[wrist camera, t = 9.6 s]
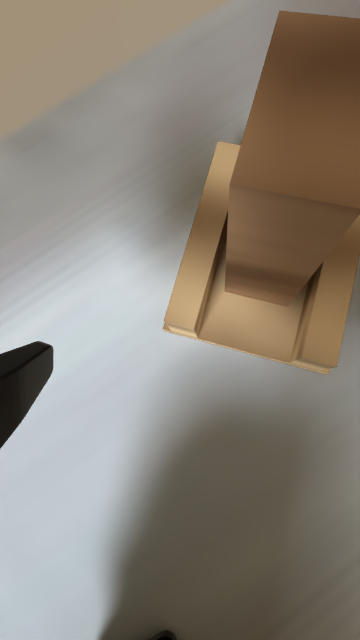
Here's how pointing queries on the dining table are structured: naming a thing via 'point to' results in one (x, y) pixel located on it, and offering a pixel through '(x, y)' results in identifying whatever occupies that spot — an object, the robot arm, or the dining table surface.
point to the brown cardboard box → (296, 159)
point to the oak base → (251, 314)
